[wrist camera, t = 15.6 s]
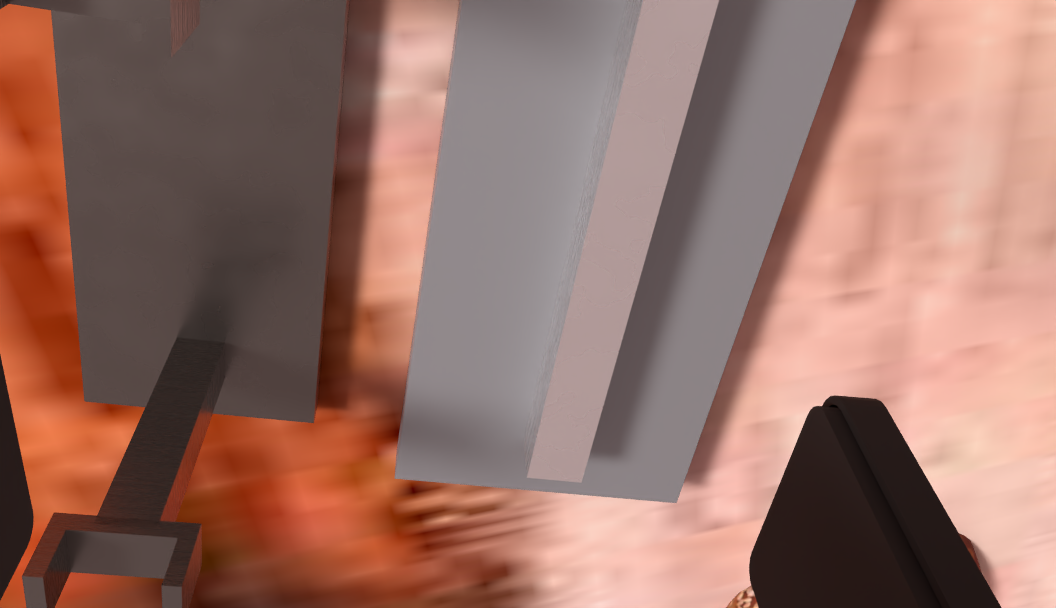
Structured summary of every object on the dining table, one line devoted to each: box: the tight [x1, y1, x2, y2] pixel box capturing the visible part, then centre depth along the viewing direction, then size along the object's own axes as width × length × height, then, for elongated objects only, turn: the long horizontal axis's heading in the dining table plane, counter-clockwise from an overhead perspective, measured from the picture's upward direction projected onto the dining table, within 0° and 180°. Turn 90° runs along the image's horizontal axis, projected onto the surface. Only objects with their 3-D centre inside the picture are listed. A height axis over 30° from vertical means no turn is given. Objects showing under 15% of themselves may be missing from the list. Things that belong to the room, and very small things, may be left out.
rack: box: [0, 0, 350, 608], centre depth 31 cm, size 10×25×15 cm, turn 170°
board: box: [395, 0, 856, 503], centre depth 38 cm, size 14×30×2 cm, turn 170°
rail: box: [523, 0, 719, 483], centre depth 37 cm, size 2×24×2 cm, turn 170°
